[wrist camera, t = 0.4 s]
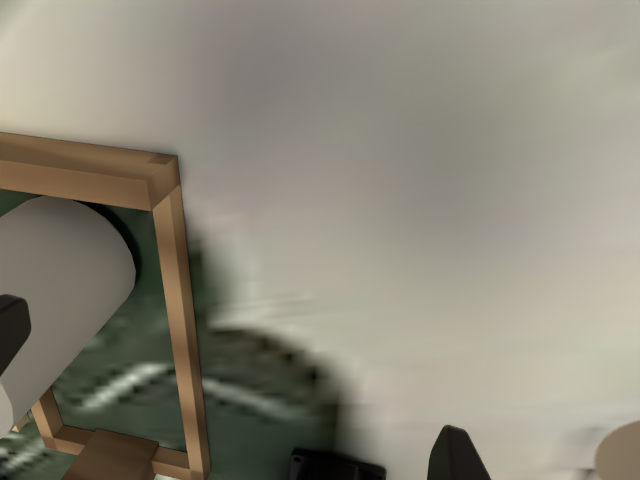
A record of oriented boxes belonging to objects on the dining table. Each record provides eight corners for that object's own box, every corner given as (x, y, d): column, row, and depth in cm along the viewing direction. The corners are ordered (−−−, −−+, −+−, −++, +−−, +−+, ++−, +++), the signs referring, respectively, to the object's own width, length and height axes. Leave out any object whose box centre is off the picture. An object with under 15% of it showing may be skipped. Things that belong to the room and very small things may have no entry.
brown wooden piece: (211, 474, 37) (161, 590, 31) (57, 438, 39) (-22, 540, 33) (177, 155, 24) (74, 238, 17) (-55, 125, 26) (-229, 188, 19)
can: (147, 312, 30) (-1, 499, 20) (34, 283, 31) (-163, 450, 21) (140, 205, 26) (-50, 371, 16) (11, 175, 27) (-249, 315, 17)
